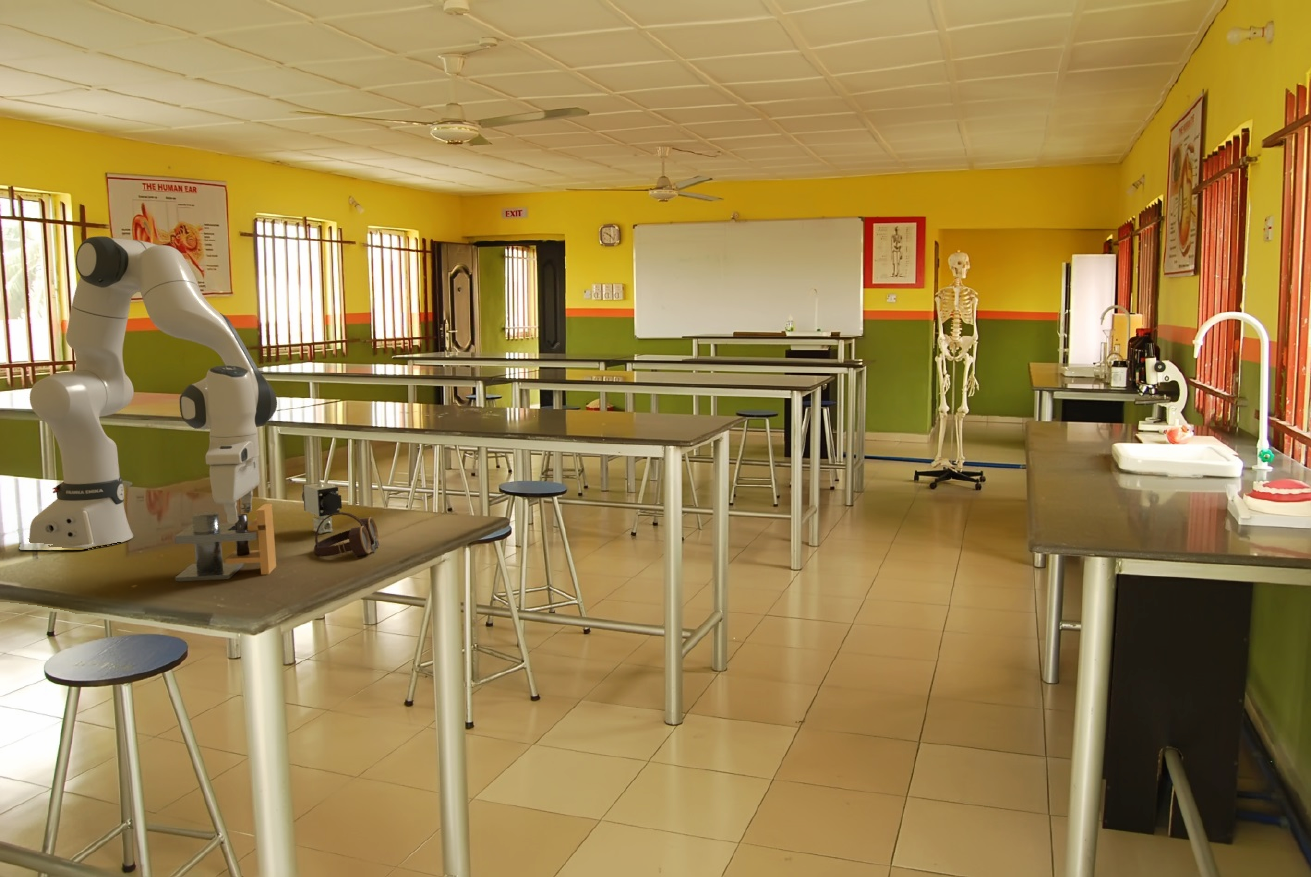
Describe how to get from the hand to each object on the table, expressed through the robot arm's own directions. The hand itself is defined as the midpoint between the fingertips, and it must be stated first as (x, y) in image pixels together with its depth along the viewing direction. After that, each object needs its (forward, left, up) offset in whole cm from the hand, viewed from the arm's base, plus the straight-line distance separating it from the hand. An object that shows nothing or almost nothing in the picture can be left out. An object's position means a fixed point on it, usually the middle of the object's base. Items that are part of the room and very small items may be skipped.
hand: (240, 517), depth 199 cm
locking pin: (0, 0, -8) cm, 8 cm away
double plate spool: (-4, 0, -11) cm, 12 cm away
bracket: (+2, 0, -11) cm, 11 cm away
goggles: (+18, +13, -12) cm, 25 cm away
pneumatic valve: (+10, +33, -11) cm, 36 cm away
